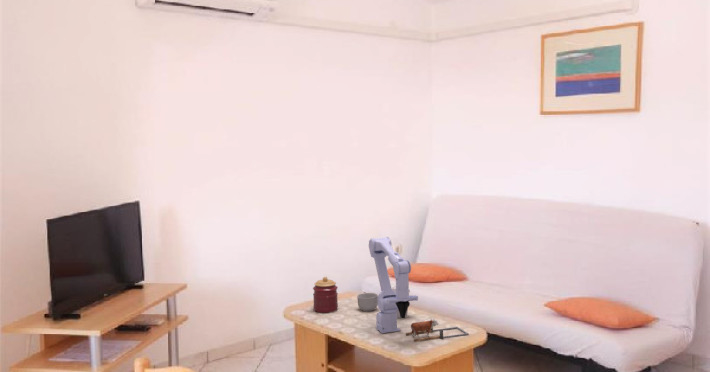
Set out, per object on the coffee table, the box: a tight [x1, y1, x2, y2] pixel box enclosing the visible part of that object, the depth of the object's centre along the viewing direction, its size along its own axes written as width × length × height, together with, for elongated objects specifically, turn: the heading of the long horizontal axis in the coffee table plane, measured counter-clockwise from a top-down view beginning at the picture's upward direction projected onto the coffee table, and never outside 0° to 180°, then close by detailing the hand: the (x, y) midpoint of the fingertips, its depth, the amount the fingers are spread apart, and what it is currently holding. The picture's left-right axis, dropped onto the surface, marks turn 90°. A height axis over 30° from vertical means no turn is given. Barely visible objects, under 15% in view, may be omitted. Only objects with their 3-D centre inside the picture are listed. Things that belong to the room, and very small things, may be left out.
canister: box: [312, 276, 339, 314], centre depth 325 cm, size 13×13×18 cm
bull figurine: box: [410, 317, 440, 339], centre depth 280 cm, size 4×13×8 cm, turn 106°
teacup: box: [356, 292, 379, 312], centre depth 325 cm, size 14×11×8 cm
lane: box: [432, 326, 470, 339], centre depth 284 cm, size 13×11×1 cm
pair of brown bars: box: [405, 327, 444, 343], centre depth 280 cm, size 14×12×4 cm
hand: (402, 317), depth 276 cm, fingers closed
